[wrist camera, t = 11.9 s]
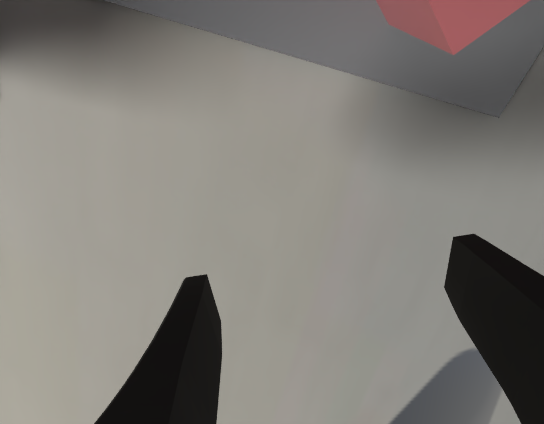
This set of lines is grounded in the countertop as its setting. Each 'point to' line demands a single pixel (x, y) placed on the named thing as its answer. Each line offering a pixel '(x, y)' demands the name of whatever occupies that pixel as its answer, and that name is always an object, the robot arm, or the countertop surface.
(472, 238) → the robot arm
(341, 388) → the countertop surface
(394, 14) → the box
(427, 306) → the countertop surface
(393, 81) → the mat
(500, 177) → the countertop surface
